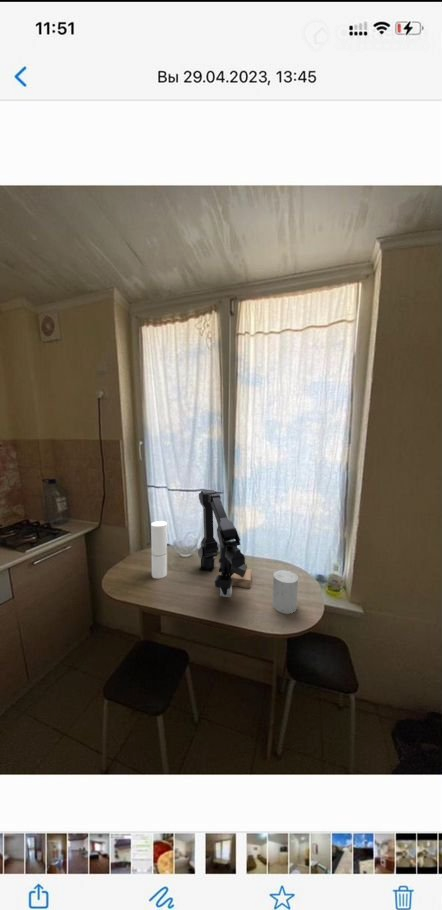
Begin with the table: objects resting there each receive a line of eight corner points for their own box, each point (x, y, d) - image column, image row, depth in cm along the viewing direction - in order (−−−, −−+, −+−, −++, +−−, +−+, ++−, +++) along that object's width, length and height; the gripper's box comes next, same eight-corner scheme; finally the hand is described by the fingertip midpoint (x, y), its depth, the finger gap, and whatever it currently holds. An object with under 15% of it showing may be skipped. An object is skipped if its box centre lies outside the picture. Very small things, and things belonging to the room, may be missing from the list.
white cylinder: (278, 594, 106) (279, 566, 105) (300, 604, 100) (302, 575, 99) (267, 606, 98) (268, 576, 97) (290, 617, 92) (292, 586, 91)
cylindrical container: (168, 570, 123) (168, 521, 121) (164, 579, 116) (163, 526, 114) (154, 569, 123) (154, 520, 121) (149, 577, 116) (148, 525, 114)
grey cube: (219, 596, 104) (219, 584, 104) (221, 589, 109) (222, 578, 108) (230, 597, 103) (230, 586, 103) (232, 590, 108) (232, 579, 107)
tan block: (229, 585, 112) (230, 577, 111) (233, 574, 120) (233, 567, 120) (249, 588, 110) (250, 580, 109) (251, 577, 119) (251, 569, 118)
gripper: (243, 569, 94) (242, 609, 95) (248, 548, 112) (247, 581, 113) (214, 566, 96) (214, 604, 97) (223, 545, 114) (223, 577, 115)
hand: (226, 591), depth 106 cm, fingers closed on grey cube, 4 cm apart
